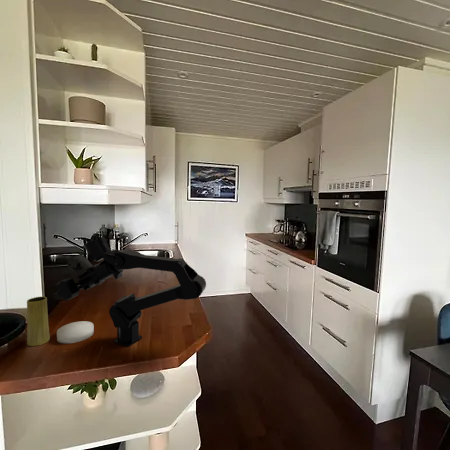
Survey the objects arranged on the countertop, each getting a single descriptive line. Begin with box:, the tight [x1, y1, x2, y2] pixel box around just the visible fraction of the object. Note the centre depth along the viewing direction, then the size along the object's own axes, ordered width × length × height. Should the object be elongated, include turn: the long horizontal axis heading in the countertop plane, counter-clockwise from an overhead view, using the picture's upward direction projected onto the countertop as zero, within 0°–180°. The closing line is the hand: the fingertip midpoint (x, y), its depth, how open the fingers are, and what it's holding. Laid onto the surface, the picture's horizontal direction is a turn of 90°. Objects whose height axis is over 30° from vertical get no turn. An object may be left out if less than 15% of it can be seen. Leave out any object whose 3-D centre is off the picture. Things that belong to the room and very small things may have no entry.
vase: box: [26, 296, 51, 347], centre depth 86 cm, size 6×6×14 cm
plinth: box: [56, 320, 95, 344], centre depth 91 cm, size 11×11×2 cm
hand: (63, 293), depth 90 cm, fingers open, 9 cm apart
